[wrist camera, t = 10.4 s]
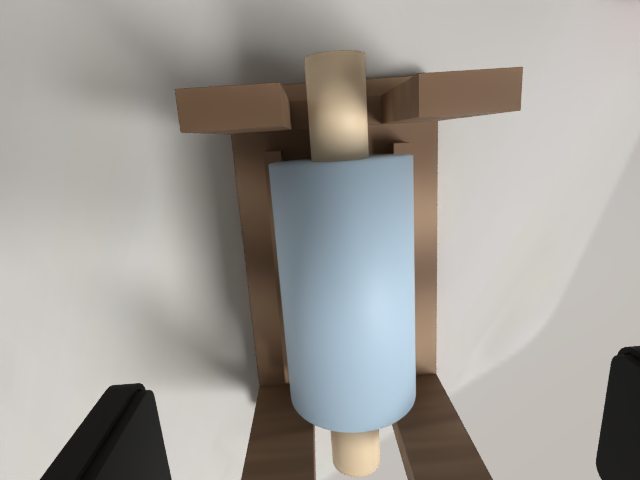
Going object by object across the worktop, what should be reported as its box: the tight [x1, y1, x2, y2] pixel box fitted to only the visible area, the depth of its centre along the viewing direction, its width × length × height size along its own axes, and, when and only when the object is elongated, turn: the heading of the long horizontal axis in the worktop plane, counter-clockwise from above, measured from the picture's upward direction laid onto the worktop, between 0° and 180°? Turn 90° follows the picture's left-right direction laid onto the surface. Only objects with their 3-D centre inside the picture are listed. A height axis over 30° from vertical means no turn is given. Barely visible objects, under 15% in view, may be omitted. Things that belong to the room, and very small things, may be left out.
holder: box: [175, 67, 523, 480], centre depth 18 cm, size 18×10×9 cm, turn 4°
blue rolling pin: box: [268, 50, 416, 477], centre depth 19 cm, size 19×6×6 cm, turn 4°
